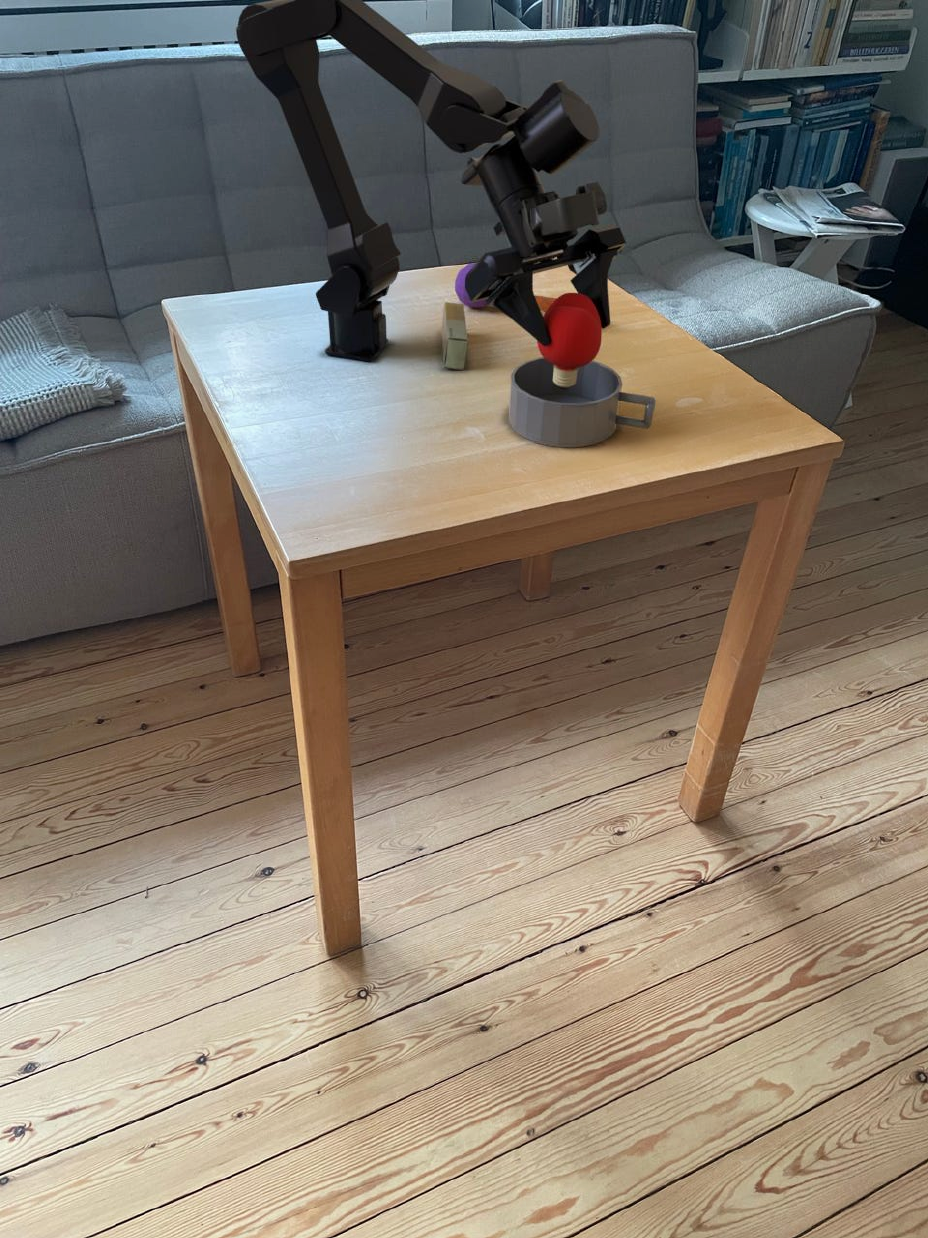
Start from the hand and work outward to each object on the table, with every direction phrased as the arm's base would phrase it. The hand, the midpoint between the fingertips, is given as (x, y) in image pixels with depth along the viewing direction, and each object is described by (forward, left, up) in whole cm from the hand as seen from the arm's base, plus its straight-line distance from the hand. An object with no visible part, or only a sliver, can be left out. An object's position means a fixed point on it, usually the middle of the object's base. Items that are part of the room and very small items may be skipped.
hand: (577, 335), depth 100 cm
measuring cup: (+1, +1, -11) cm, 11 cm away
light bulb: (-1, +1, -7) cm, 7 cm away
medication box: (-19, +15, -11) cm, 26 cm away
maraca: (-14, +30, -11) cm, 35 cm away
